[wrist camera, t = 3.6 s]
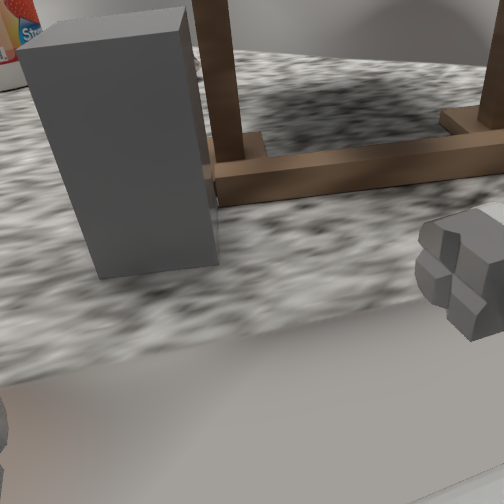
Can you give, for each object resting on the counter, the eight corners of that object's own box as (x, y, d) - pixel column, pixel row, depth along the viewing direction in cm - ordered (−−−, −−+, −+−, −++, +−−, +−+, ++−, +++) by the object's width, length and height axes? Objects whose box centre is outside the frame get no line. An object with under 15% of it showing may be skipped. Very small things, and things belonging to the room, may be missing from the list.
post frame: (195, 210, 23) (144, -53, 17) (198, 151, 29) (161, -60, 23) (576, 163, 23) (671, -115, 17) (502, 114, 29) (551, -106, 23)
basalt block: (99, 279, 19) (14, 50, 14) (118, 217, 23) (58, 21, 18) (219, 264, 19) (178, 30, 14) (217, 205, 23) (185, 6, 18)
